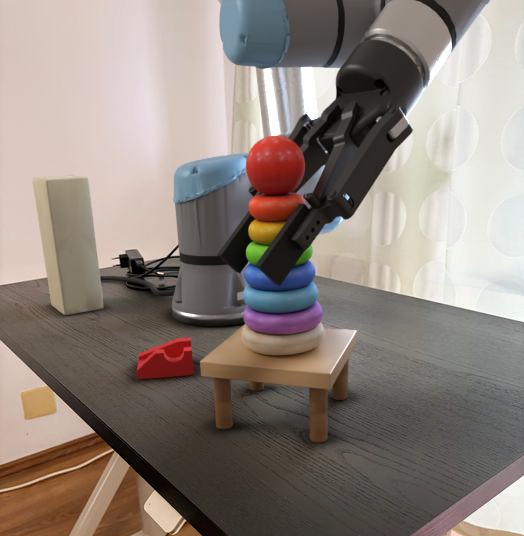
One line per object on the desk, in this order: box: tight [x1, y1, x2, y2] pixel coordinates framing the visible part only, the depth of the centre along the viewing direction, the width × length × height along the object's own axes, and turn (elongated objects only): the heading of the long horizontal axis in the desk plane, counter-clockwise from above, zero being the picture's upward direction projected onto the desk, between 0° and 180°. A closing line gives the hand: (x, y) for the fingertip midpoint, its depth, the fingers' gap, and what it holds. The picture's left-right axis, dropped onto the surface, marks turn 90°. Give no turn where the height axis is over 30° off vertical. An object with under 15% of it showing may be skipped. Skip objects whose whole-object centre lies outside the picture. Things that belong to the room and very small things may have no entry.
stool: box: [199, 323, 358, 443], centre depth 57 cm, size 12×12×7 cm
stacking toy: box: [241, 136, 325, 355], centre depth 53 cm, size 8×8×19 cm
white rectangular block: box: [31, 174, 104, 316], centre depth 95 cm, size 8×7×21 cm
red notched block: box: [136, 336, 195, 380], centre depth 69 cm, size 6×5×3 cm
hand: (247, 269), depth 51 cm, fingers closed on stacking toy, 6 cm apart
